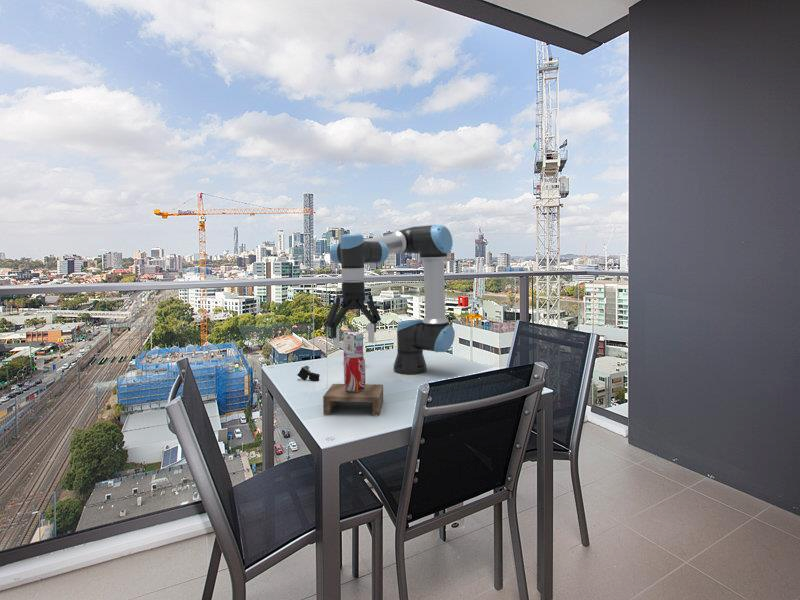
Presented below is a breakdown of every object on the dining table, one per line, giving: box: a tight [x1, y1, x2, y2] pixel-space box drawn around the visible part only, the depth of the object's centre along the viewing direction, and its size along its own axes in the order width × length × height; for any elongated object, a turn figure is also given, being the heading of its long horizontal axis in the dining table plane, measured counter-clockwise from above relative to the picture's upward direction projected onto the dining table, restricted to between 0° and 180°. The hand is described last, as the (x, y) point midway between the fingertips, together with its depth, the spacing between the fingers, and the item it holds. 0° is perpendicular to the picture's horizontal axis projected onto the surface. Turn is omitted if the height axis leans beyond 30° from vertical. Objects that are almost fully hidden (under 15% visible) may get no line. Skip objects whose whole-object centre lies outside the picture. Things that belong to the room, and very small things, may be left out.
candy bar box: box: [342, 331, 364, 361], centre depth 192 cm, size 11×5×16 cm, turn 37°
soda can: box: [343, 353, 366, 392], centre depth 137 cm, size 7×7×12 cm
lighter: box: [296, 365, 321, 382], centre depth 171 cm, size 9×2×6 cm
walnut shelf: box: [322, 383, 384, 417], centre depth 137 cm, size 18×14×6 cm
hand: (354, 344), depth 136 cm, fingers open, 13 cm apart
